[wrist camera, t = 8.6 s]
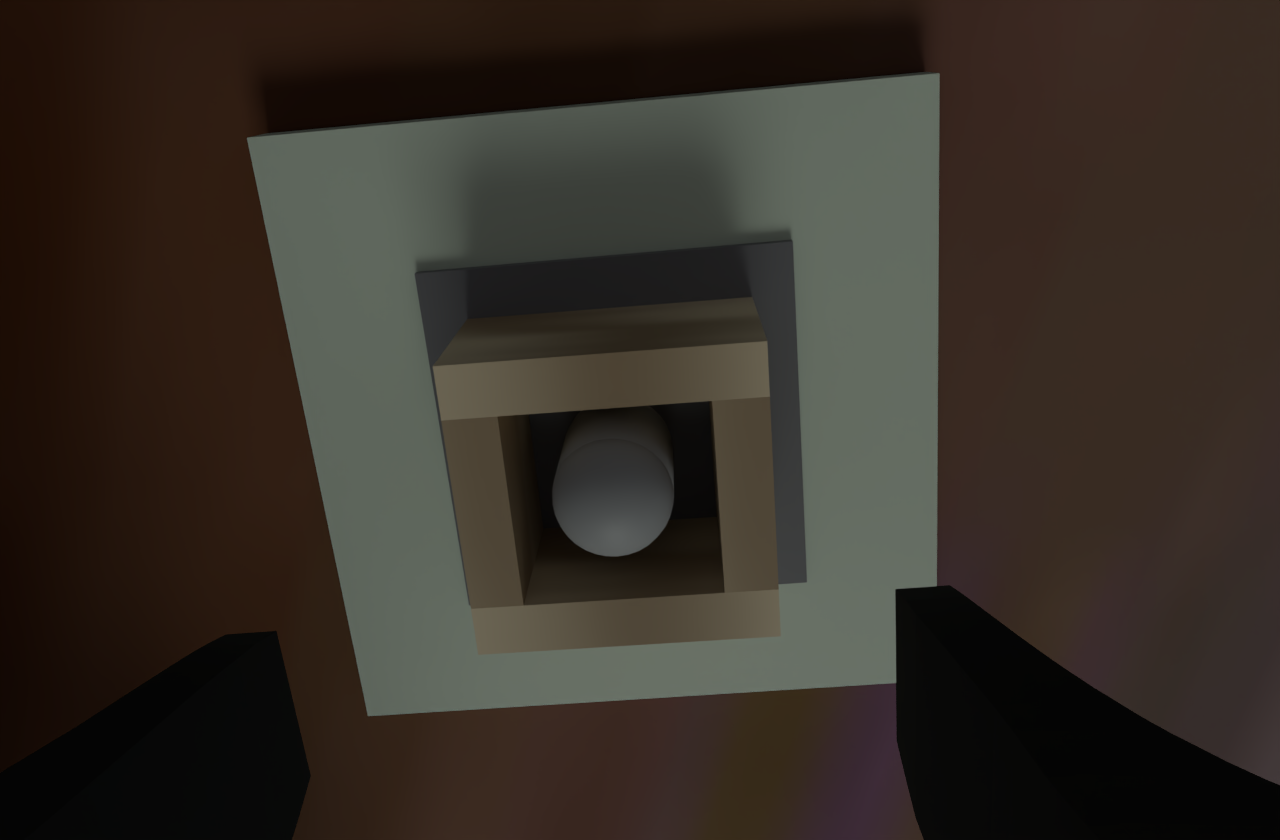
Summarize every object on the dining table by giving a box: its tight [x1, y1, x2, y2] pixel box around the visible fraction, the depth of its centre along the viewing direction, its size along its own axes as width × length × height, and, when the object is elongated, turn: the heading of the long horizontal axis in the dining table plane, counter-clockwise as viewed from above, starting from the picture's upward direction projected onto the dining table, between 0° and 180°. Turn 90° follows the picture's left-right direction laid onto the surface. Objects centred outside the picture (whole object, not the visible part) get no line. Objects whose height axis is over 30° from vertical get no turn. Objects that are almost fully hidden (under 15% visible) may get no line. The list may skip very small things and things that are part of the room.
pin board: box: [247, 72, 939, 716], centre depth 19 cm, size 12×12×5 cm
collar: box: [433, 297, 781, 655], centre depth 18 cm, size 5×5×3 cm
